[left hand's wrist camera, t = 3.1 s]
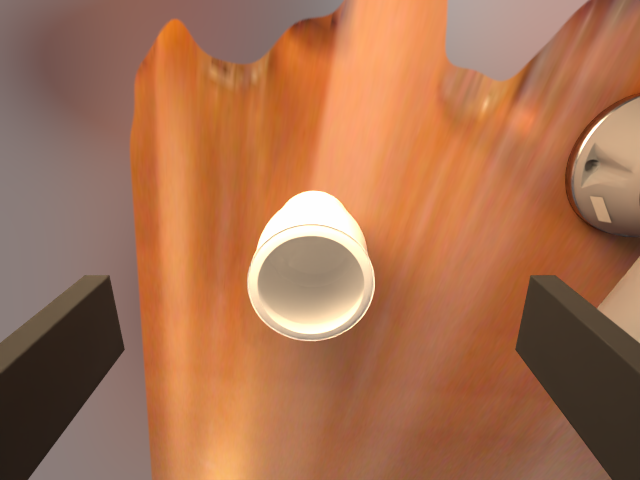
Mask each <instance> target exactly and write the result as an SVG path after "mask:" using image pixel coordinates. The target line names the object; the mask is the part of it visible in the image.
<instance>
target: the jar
mask: <svg viewBox="0 0 640 480" xmlns="http://www.w3.org/2000/svg"><path fill="white" fill-rule="evenodd" d="M247 288H248V294H249V298H250V301H251V304H252V306H253V308H254V310H255V311H256V313H257V314H258V316H259V317H260V318H261V319H262V320H263V322H264V323H266V324H267V325H268V326H269V327H270V328H272V329H273V330H275V331H276V332H278V333H280V334H282V335H284V336H287V337H289V338H293V339H297V340H303V341H318V340H325V339H329V338H332V337H335V336H338V335H340V334H342V333H344V332H346V331H347V330H349V329H350V328H352V327H353V326H354V325H355V324H356V323H357V322H358V321H359V320H360V319H361V318H362V317H363V316H364V314H365V313H366V311H367V309H368V308H369V306H370V303H371V301H372V298H373V294H374V288H375V276H374V270H373V267H372V263H371V261H370V258H369V256H368V250H367V245H366V241H365V238H364V235H363V233H362V231H361V229H360V227H359V225H358V224H357V222H356V221H355V220H354V218H353V217H352V216H351V215H350V214H349V213H348V212H347V211H346V209H345V208H344V206H343V205H342V204H341V202H340V201H338V200H337V199H336V198H335V197H333V196H331V195H329V194H327V193H324V192H319V191H308V192H303V193H300V194H298V195H296V196H294V197H293V198H291V199H290V200H289V201H288V202H287V203H286V204H285V205H284V207H283V208H282V209H281V210H280V211H278V212H277V213H276V214H275V215H274V216H273V217H272V219H271V220H270V221H269V222H268V224H267V225H266V227H265V229H264V231H263V232H262V235H261V237H260V240H259V243H258V246H257V251H256V253H255V255H254V256H253V259H252V261H251V264H250V267H249V271H248V277H247Z"/></svg>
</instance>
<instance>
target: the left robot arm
mask: <svg viewBox="0 0 640 480" xmlns="http://www.w3.org/2000/svg"><path fill="white" fill-rule="evenodd" d="M565 185H566V192H567V196H568V199H569V202H570V204H571V206H572V208H573V209H574V211H575V212H576V213H577V215H578V216H579V217H580V218H581V219H582V220H584V221H585V222H586V223H588V224H590V225H591V226H593V227H595V228H597V229H599V230H601V231H604V232H606V233H609V234H614V235H618V236H624V237H640V93H638V94H634V95H631V96H629V97H626V98H624V99H622V100H620V101H618V102H616V103H614V104H613V105H611V106H609V107H608V108H607V109H605V110H604V111H602V112H601V113H600V114H599V115H598V116H597V117H595V118H594V119H593V120H592V121H591V122H590V124H589V125H588V126H587V127H586V128H585V129H584V131H583V132H582V133H581V135H580V136H579V138H578V140H577V141H576V143H575V145H574V147H573V149H572V151H571V154H570V157H569V160H568V163H567V168H566V175H565ZM515 350H516V351H517V352H518V354H519V355H520V356H521V358H522V359H523V360H524V362H525V363H526V365H527V366H528V367H529V369H530V370H531V371H532V373H533V374H534V375H535V377H536V378H537V379H538V381H539V382H540V383H541V385H542V386H543V387H544V389H545V390H546V391H547V393H548V394H549V395H550V397H551V398H552V399H553V401H554V402H555V403H556V405H557V406H558V408H559V409H560V410H561V412H562V413H563V414H564V416H565V417H566V418H567V420H568V421H569V422H570V424H571V425H572V426H573V428H574V429H575V430H576V432H577V433H578V434H579V436H580V437H581V438H582V440H583V441H584V442H585V444H586V445H587V446H588V448H589V449H590V450H591V452H592V453H593V455H594V456H595V457H596V459H597V460H598V461H599V463H600V464H601V465H602V467H603V468H604V469H605V471H606V472H607V473H608V475H609V476H610V477H611V479H612V480H640V257H639V258H638V259H637V260H636V262H635V263H634V264H633V265H632V267H631V268H630V269H629V270H628V272H627V273H626V274H625V275H624V276H623V278H622V279H621V280H620V281H619V282H618V284H617V285H616V286H615V287H614V288H613V290H612V291H611V292H610V293H609V294H608V296H607V297H606V298H605V299H604V300H603V302H602V303H601V304H600V305H599V306H598V308H595V307H594V306H593V305H592V304H590V303H589V302H588V301H587V300H585V299H584V298H583V297H582V296H580V295H579V294H578V293H577V292H575V291H574V290H573V289H572V288H570V287H569V286H568V285H567V284H565V283H564V282H563V281H562V280H560V279H559V278H558V277H557V276H555V275H531V276H530V281H529V286H528V291H527V296H526V300H525V305H524V310H523V315H522V320H521V325H520V330H519V334H518V339H517V344H516V349H515ZM123 351H124V344H123V339H122V334H121V330H120V325H119V320H118V315H117V310H116V305H115V300H114V296H113V291H112V286H111V281H110V276H109V275H85V276H83V277H82V278H81V279H80V280H78V281H77V282H76V283H75V284H73V285H72V286H71V287H70V288H68V289H67V290H66V291H65V292H63V293H62V294H61V295H60V296H58V297H57V298H56V299H55V300H53V301H52V302H51V303H50V304H48V305H47V306H46V307H45V308H44V309H42V310H41V311H40V312H38V313H37V314H36V315H35V316H33V317H32V318H31V319H30V320H28V321H27V322H26V323H25V324H23V325H22V326H21V327H20V328H18V329H17V330H16V331H15V332H13V333H12V334H11V335H10V336H9V337H7V338H6V339H5V340H3V341H2V342H1V343H0V480H28V479H29V477H30V476H31V475H32V473H33V472H34V471H35V469H36V468H37V467H38V465H39V464H40V462H41V461H42V460H43V459H44V457H45V456H46V455H47V453H48V452H49V450H50V449H51V448H52V446H53V445H54V444H55V442H56V441H57V440H58V438H59V437H60V436H61V434H62V433H63V432H64V430H65V429H66V428H67V426H68V425H69V424H70V422H71V421H72V420H73V418H74V417H75V416H76V414H77V413H78V412H79V410H80V409H81V407H82V406H83V405H84V403H85V402H86V401H87V399H88V398H89V397H90V395H91V394H92V393H93V391H94V390H95V389H96V387H97V386H98V385H99V383H100V382H101V381H102V379H103V378H104V377H105V375H106V374H107V373H108V371H109V370H110V368H111V367H112V366H113V365H114V363H115V362H116V360H117V359H118V358H119V356H120V355H121V354H122V352H123Z"/></svg>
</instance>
